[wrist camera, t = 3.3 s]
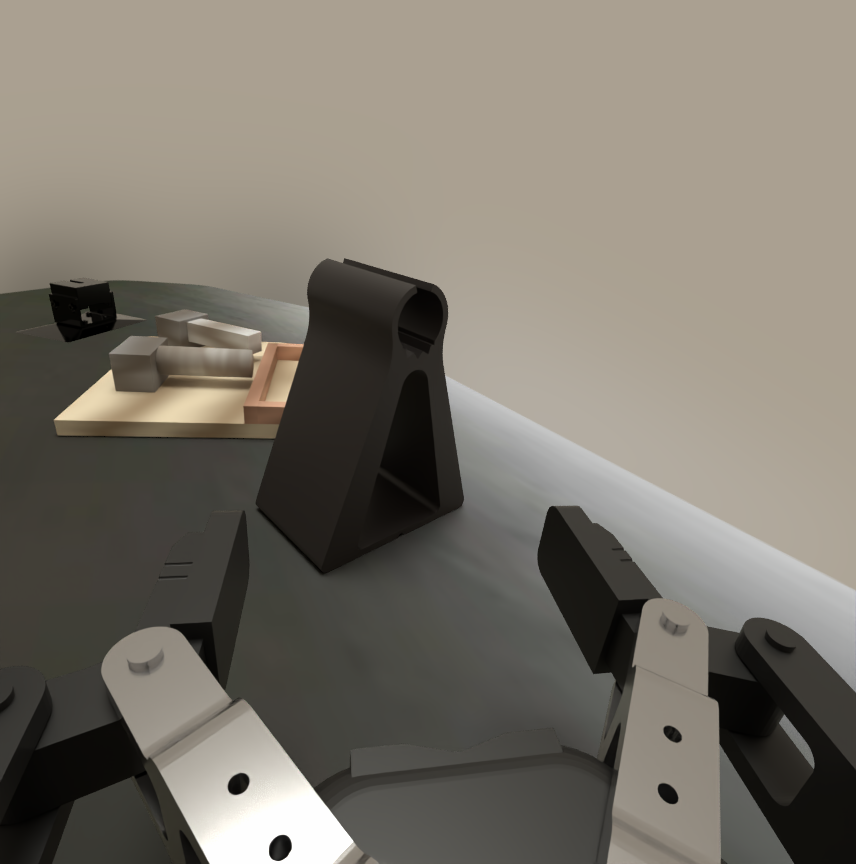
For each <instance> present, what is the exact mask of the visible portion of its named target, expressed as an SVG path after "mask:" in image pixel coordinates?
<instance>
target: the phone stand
mask: <svg viewBox="0 0 856 864" xmlns="http://www.w3.org/2000/svg"><path fill="white" fill-rule="evenodd" d="M307 295H308V302H309V326H308V332H307V336H306V339H305V342H304V346H303V349H302V352H301V355H300V359H299V362H298V365H297V368H296V372H295V375H294V378H293V381H292V385H291V388H290V391H289V395H288V398H287V401H286V404H285V408H284V411H283V414H282V417H281V421H280V424H279V427H278V430H277V434H276V437H275V440H274V444H273V447H272V450H271V453H270V457H269V460H268V463H267V466H266V470H265V473H264V476H263V479H262V483H261V486H260V489H259V493H258V496H257V499H256V505H257V506H258V507H259V508H260V509H261V510H262V511H263V512H264V513H265V514H266V515H267V516H268V517H269V518H270V519H271V520H272V521H273V522H274V523H275V524H276V525H277V526H278V527H279V528H280V529H281V530H282V531H283V532H284V533H285V534H286V535H287V536H288V537H289V538H290V540H291V541H292V542H293V543H294V544H295V545H296V546H297V547H298V548H299V549H300V550H301V551H302V552H303V553H304V554H305V555H306V556H307V557H308V558H309V559H310V560H311V561H312V562H313V563H314V564H315V565H316V566H317V567H318V568H319V569H320V570H321V571H322V572H324V573H327V572H330V571H332V570H334V569H336V568H338V567H340V566H342V565H344V564H346V563H348V562H350V561H352V560H354V559H356V558H358V557H360V556H362V555H364V554H366V553H368V552H370V551H372V550H374V549H376V548H378V547H380V546H382V545H384V544H386V543H388V542H390V541H392V540H394V539H396V538H398V536H399V534H401V533H402V534H403V535H404V534H407V533H409V532H411V531H413V530H415V529H417V528H419V527H421V526H423V525H425V524H427V523H429V522H431V521H433V520H435V519H437V518H439V517H441V516H443V515H445V514H447V513H449V512H451V511H453V510H455V509H457V508H459V507H460V506H461V505H462V503H463V501H464V496H463V490H462V483H461V477H460V470H459V464H458V457H457V451H456V444H455V438H454V431H453V425H452V418H451V412H450V405H449V399H448V392H447V386H446V379H445V373H444V366H443V354H442V353H443V339H444V334H445V329H446V325H447V320H448V305H447V301H446V298H445V295H444V294H443V292H442V291H441V289H439V288H438V287H437V286H436V285H434V284H431V283H427V282H424V281H420V280H417V279H414V278H410V277H407V276H403V275H400V274H397V273H393V272H389V271H386V270H383V269H379V268H376V267H373V266H369V265H366V264H362V263H359V262H356V261H352V260H349V259H344V262H343V263H340V262H337V261H334V260H331V259H326V260H324V261H322V262H321V263H320V264H319V265H318V266H317V267H316V268H315V269H314V271H313V273H312V275H311V277H310V279H309V283H308V289H307Z"/></svg>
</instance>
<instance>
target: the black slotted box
mask: <svg viewBox="0 0 856 864" xmlns="http://www.w3.org/2000/svg"><path fill="white" fill-rule="evenodd" d="M50 287H51V292H52V294H49V297H50V302H51V306H52V311H53V315H54V320H55V322H56V323H52V324H48V325H43V326H39V327H35V328H30V329H26V330H22V331H17V333H22V334H27V335H32V336H38V337H43V338H48V339H53V340H58V341H63V342H72V341H75V340H79V339H82V338H86V337H89V336H93V335H96V334H100V333H103V332H107V331H110V330H114V329H117V328H121V327H125V326H128V325H132V324H135V323H139V322H142V321H146V319H141V318H135V317H130V316H125V315H120V314H116V308H115V302H114V296H113V292H112V291H110V289H109V283H108V282H104V281H98V280H93V279H87V278H79V279H73V280H70V282H68V281H61V282H54V283H50ZM88 306H89V309H90V312H85V314H81V312H80V310H82V309H87V308H88ZM74 309H75V310H74Z"/></svg>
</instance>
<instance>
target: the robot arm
mask: <svg viewBox="0 0 856 864" xmlns="http://www.w3.org/2000/svg"><path fill="white" fill-rule="evenodd" d="M538 566H539V570H540V573H541V575H542V577H543V579H544V581H545V582H546V584H547V586H548V588H549V590H550V592H551V594H552V596H553V598H554V600H555V602H556V603H557V605H558V607H559V609H560V611H561V613H562V615H563V617H564V619H565V621H566V623H567V625H568V626H569V628H570V630H571V632H572V634H573V636H574V638H575V640H576V642H577V644H578V646H579V647H580V649H581V651H582V653H583V655H584V657H585V659H586V661H587V663H588V665H589V667H590V669H591V670H592V672H593V674H599V673H610V672H612V674H613V676H614V678H615V682H614V685H613V687H612V691H611V696H610V700H609V705H608V710H607V714H606V719H605V724H604V728H603V733H602V738H601V742H600V747H599V751H598V755H597V759H596V758H595V757H593V756H591V755H589V754H586V753H584V752H582V751H579V750H577V749H573V748H570V747H566V746H562V745H560V743H559V740H558V738H557V735H556V733H555V730H554V728H546V729H537V730H527V731H518V732H509V733H505V734H502V735H500V736H498V737H495V738H493V739H490V740H488V741H486V742H483V743H481V744H478V745H476V746H474V747H471V748H469V749H466V750H464V751H460V752H453V751H447V750H441V749H434V748H428V747H421V746H415V745H409V744H396V745H387V746H378V747H368V748H359V749H351V756H350V768H348V769H345V770H343V771H341V772H338V773H337V774H335V775H333V776H331V777H329V778H328V779H326V780H325V781H323V782H322V783H320V784H319V785H318V786H316V787H315V788H314V789H313V788H312V787H311V785H310V784H309V783H308V781H307V780H306V779H305V777H304V776H303V775H302V773H301V772H300V771H299V770H298V768H297V767H296V766H295V764H294V763H293V762H292V760H291V759H290V758H289V756H288V755H287V754H286V752H285V751H284V750H283V748H282V747H281V746H280V744H279V743H278V742H277V741H276V739H275V738H274V737H273V735H272V734H271V733H270V731H269V730H268V729H267V727H266V726H265V725H264V723H263V722H262V721H261V719H260V718H259V717H258V715H257V714H256V713H255V712H254V710H253V709H252V708H251V706H250V705H249V704H248V703H247V702H246V701H245V700H244V699H242V698H237V699H236V700H234V701H232V700H231V699H230V698H229V697H228V695H227V694H226V693H225V689H226V684H227V679H228V675H229V670H230V665H231V661H232V656H233V651H234V647H235V642H236V637H237V633H238V628H239V623H240V618H241V614H242V609H243V604H244V600H245V595H246V590H247V586H248V579H249V550H248V537H247V524H246V514H245V511H212V512H211V514H210V517H209V520H208V522H207V525H206V528H205V531H204V532H188V533H186V534H185V535H184V536H183V537H182V538H181V539H180V540H179V541H178V542H177V543H176V544H175V545H173V546H172V548H171V550H170V553H169V555H168V557H167V559H166V562H165V566H163V568H162V571H161V573H160V575H159V580H157V582H156V584H155V587H154V589H153V591H152V593H151V596H150V598H149V600H148V603H147V605H146V607H145V609H144V612H143V614H142V616H141V618H140V621H139V623H138V625H137V627H136V630H135V632H134V633H132V634H130V635H128V636H127V637H125V638H123V639H122V640H121V641H119V642H118V643H117V644H116V645H114V646H113V647H112V649H111V650H110V651H109V652H108V653H107V655H106V657H105V658H104V661H102V662H100V663H98V664H96V665H94V666H91V667H88V668H85V669H82V670H79V671H76V672H73V673H69V674H66V675H63V676H60V677H56V678H53V679H50V680H47V681H45V678H44V676H43V674H42V673H41V672H40V671H39V670H37V669H35V668H32V667H28V666H12V667H6V668H2V669H0V864H52V862H53V859H54V856H55V854H56V851H57V848H58V845H59V842H60V840H61V837H62V834H63V831H64V828H65V826H66V823H67V820H68V817H69V814H70V812H71V809H72V806H73V803H74V800H76V799H78V798H81V797H83V796H86V795H88V794H91V793H93V792H96V791H98V790H100V789H103V788H105V787H108V786H110V785H113V784H115V783H118V782H120V781H122V780H125V779H127V778H130V777H131V779H132V781H133V783H134V785H135V787H136V789H137V791H138V793H139V795H140V797H141V799H142V801H143V803H144V805H145V807H146V809H147V811H148V813H149V815H150V817H151V819H152V821H153V823H154V825H155V827H156V829H157V831H158V833H159V835H160V837H161V839H162V841H163V843H164V845H165V847H166V850H167V852H168V854H169V856H170V858H171V861H172V863H173V864H727V863H726V862H725V861H724V860H723V859H721V848H720V767H719V744H720V745H721V747H722V749H723V750H724V752H725V753H726V755H727V757H728V758H729V760H730V761H731V763H732V765H733V766H734V768H735V769H736V771H737V773H738V774H739V776H740V777H741V779H742V781H743V782H744V784H745V785H746V787H747V789H748V790H749V792H750V793H751V795H752V797H753V798H754V800H755V801H756V803H757V805H758V806H759V808H760V809H761V811H762V813H763V814H764V816H765V817H766V819H767V821H768V822H769V824H770V825H771V827H772V829H773V830H774V832H775V834H776V835H777V837H778V838H779V840H780V842H781V843H782V845H783V846H784V848H785V850H786V851H787V853H788V854H789V856H790V858H791V859H792V861H793V862H794V864H856V692H855V691H854V690H853V689H852V688H851V687H850V686H849V685H848V684H847V683H846V682H845V681H844V680H843V679H842V678H841V677H840V676H839V675H838V674H837V672H836V671H835V670H834V669H833V668H832V667H831V666H830V665H829V664H828V663H827V662H826V661H825V660H824V659H823V658H822V657H821V656H820V655H819V654H818V653H817V651H816V650H815V649H814V648H813V647H812V646H811V645H810V644H809V643H808V642H807V641H806V640H805V639H804V638H803V637H802V636H800V635H799V634H798V633H796V632H795V631H794V630H792V629H790V628H789V627H787V626H785V625H783V624H781V623H778V622H776V621H773V620H770V619H765V618H751V619H749V620H747V621H746V622H745V623H744V625H743V627H742V629H741V631H740V633H737V632H732V631H727V630H722V629H717V628H712V627H707V626H706V625H705V623H704V621H703V620H702V619H701V618H700V617H699V616H698V615H697V614H696V613H695V612H694V611H692V610H691V609H689V608H688V607H686V606H684V605H683V604H680V603H678V602H676V601H673V600H669V599H663V598H662V596H661V595H660V594H659V593H658V591H657V590H656V589H655V588H654V586H653V585H652V584H651V582H650V581H649V580H648V579H647V577H646V576H645V575H644V574H643V572H642V571H641V570H640V568H639V567H638V566H637V565H636V563H635V562H632V558H631V557H630V556H629V554H628V553H627V552H626V551H624V548H623V547H622V545H621V544H620V543H619V542H618V540H617V539H616V538H615V536H614V535H613V534H611V533H610V532H609V531H607V530H606V529H604V528H603V527H602V526H600V525H599V524H597V523H592V522H591V521H590V519H589V518H588V517H587V515H586V514H585V513H584V511H583V510H582V509H581V508H580V507H579V506H551V507H550V508H549V509H548V512H547V515H546V519H545V523H544V528H543V532H542V536H541V540H540V544H539V548H538ZM784 714H785V715H786V717H787V718H788V719H789V721H790V722H791V723H792V724H793V726H794V727H795V728H796V730H797V731H798V732H799V733H800V735H801V736H802V737H803V738H804V740H805V741H806V742H807V744H808V745H809V747H810V749H811V751H812V754H813V757H814V763H815V766H814V769H813V768H812V767H811V765H810V764H809V763H808V761H807V760H806V759H805V757H804V756H803V755H802V753H801V752H800V751H799V749H798V748H797V747H796V745H795V744H794V743H793V741H792V740H791V739H790V738H789V736H788V735H787V734H786V732H785V731H784V730H783V728H782V727H781V726H780V724H779V722H780V720H781V719H782V717H783V715H784Z"/></svg>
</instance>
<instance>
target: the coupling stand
mask: <svg viewBox="0 0 856 864" xmlns="http://www.w3.org/2000/svg"><path fill="white" fill-rule="evenodd" d="M155 318H156V326H157V333H158V337H153V336H149V337H141V336H130V337H129V338H128V339H127V340H125V341H124V342H123V343H122V344H120V345H119V346H118V347H117V348H115V349H114V350H113V351H112V352H110V353H109V357H110V363H111V368H112V369H111V370H110V371H109V372H108V373H107V374H106V375H104V376H103V377H102V378H101V379H100V380H99V381H98V382H96V383H95V384H94V385H93V386H92V387H91V388H90V389H89V390H87V391H86V392H85V393H84V394H83V395H82V396H81V397H79V398H78V399H77V400H76V401H75V402H74V403H73V404H71V405H70V406H69V407H68V408H67V409H66V410H65V411H63V412H62V413H61V414H60V415H59V416H58V417H57V418H55V419H54V423H55V427H56V431H57V435H63V436H133V437H203V438H273V439H275V437H276V434H277V430H278V427H279V424H280V421H281V417H282V414H283V411H284V408H285V404H286V401H287V398H288V395H289V391H290V388H291V385H292V381H293V378H294V375H295V372H296V368H297V365H298V362H299V359H300V355H301V352H302V349H303V346H304V344H285V343H274V342H261V332H260V331H256V330H251V329H247V328H242V327H238V326H233V325H229V324H224V323H220V322H215V321H211V320H208V314H205V313H200V312H195V311H191V310H186V309H185V310H180V311H176V312H171V313H167V314H163V315H158V316H155Z"/></svg>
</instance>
